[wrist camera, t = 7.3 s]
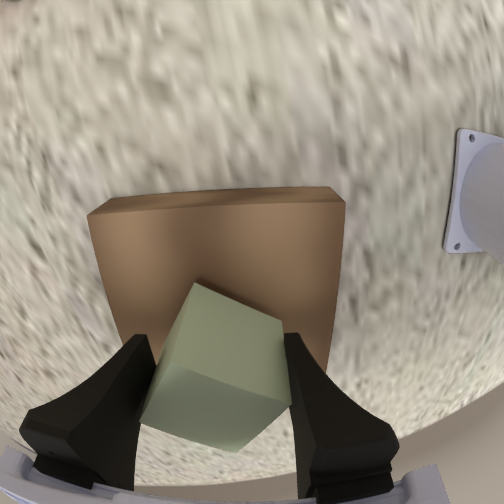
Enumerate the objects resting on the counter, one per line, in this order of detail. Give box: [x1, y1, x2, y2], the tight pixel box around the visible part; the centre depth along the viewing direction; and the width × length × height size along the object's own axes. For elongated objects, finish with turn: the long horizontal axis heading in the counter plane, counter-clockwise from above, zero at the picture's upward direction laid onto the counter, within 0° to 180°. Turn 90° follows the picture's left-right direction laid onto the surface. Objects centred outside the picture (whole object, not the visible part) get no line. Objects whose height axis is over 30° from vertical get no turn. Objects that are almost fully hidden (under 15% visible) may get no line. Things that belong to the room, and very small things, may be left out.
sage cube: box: [139, 282, 292, 453], centre depth 13 cm, size 4×4×5 cm
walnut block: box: [87, 187, 346, 373], centre depth 17 cm, size 12×12×3 cm
